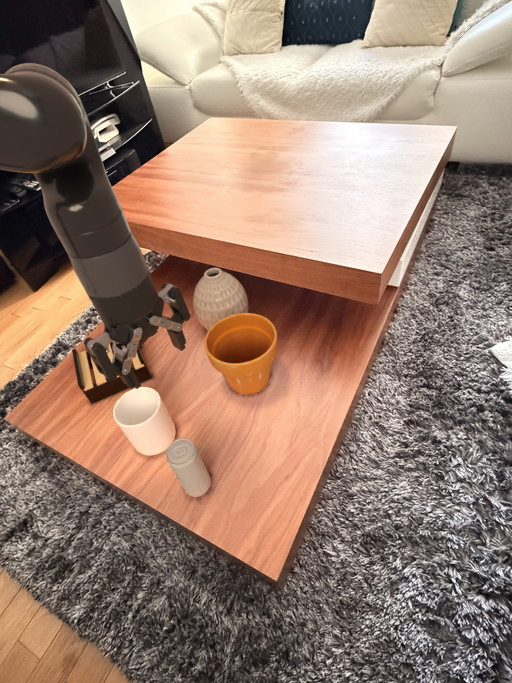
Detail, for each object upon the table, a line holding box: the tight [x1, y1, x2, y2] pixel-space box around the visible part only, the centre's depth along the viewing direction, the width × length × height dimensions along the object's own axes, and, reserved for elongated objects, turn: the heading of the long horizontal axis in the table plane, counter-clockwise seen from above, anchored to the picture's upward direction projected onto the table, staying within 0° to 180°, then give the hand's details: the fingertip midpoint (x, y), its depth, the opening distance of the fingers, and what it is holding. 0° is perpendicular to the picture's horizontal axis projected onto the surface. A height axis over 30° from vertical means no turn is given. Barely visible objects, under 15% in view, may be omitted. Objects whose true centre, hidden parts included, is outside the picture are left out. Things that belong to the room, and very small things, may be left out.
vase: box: [192, 267, 249, 332], centre depth 91 cm, size 13×13×17 cm
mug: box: [112, 386, 177, 456], centre depth 74 cm, size 9×12×11 cm
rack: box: [71, 341, 153, 405], centre depth 88 cm, size 14×12×7 cm
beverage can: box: [165, 437, 212, 498], centre depth 64 cm, size 5×5×12 cm
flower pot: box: [203, 312, 279, 396], centre depth 79 cm, size 14×14×13 cm
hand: (158, 365), depth 56 cm, fingers open, 8 cm apart
